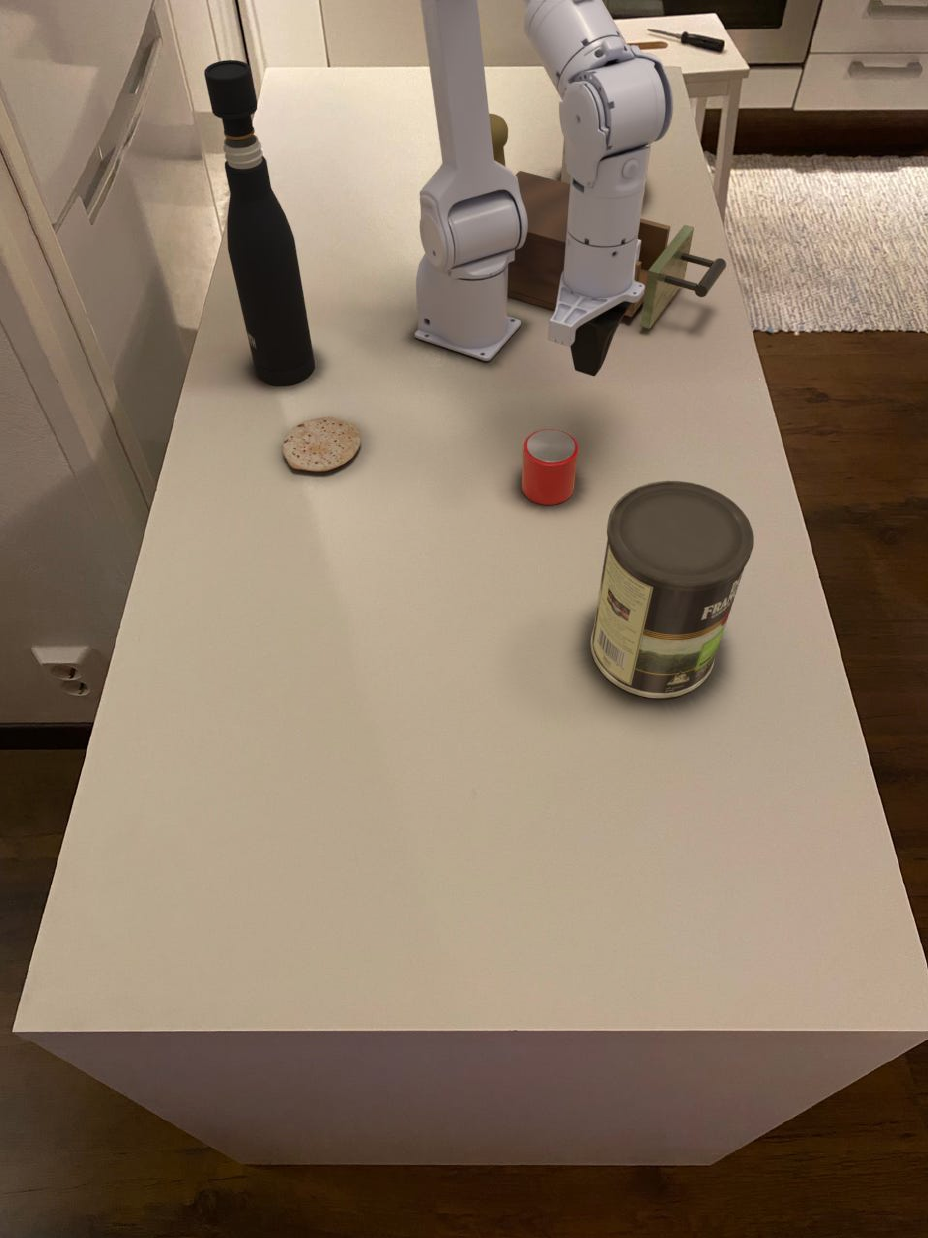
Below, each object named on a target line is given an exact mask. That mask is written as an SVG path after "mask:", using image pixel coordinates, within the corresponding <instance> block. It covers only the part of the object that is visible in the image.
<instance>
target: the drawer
mask: <svg viewBox="0 0 928 1238" xmlns="http://www.w3.org/2000/svg"><path fill="white" fill-rule="evenodd" d="M670 231H671V225H667V224H664V223H660V222H657V221H653V220H649V219H646V218H645V219H644V218H640V225H639V232H638V239H639V240H641V246H640V253H639V260H638V261H637V263H636V264H635V277H634V280H635V281H636V282H639V283H642V284H644V286H645V290H644V294H643V296H642V297H641V298H640V300H639V301H637V302H635V303H632V305H631V306H630V307H629V309H628V310H627V311H626V313H625V314H624V316H626V317H630V318H631V317H633V316H634V314H635V313H636V312H637V310H638V309H639V308H640V306H641V305H642V308H641V309H642V310H641V316H640V323H639V327H642V328H645V329H651V328H652V326H653V325H654V323H655V322H656V321H657V320H658V318H659V317H660V315H662V313H663V311H664V310H665V309H666V307H667V306H668V305H669V303H670V302H671V300H672V299H673V298H674V296H675V295H676V294H677V292H678V291H679V289H680V288H683V289H686V290H690V291H693V292H694V294H695V295H696V296H697V297H698V298H704V297H706V296H707V295H708V294H709V292H710V290H711V289H713V286H714V285H715V283H716V282H717V281H718V279H719V278H720V277H721V275H722V274H723V272H724V270H726V268H727V262H726V260H725V259H724V258H721V257H719V258H716V259H715V260H712V259H708V258H704V257H701V256H698V255H694V254H690V252H691V247H692V241H693V237H694V232H695V227H694V226H692V225H687V224H683V226H682V227H681V228H680V229H679V231H678V232H677V233H676V235H675V236H674V237H673V238H672V240H671V241H670V242H669V239H670V238H669V237H670V233H671V232H670ZM668 243H669V244H668ZM688 263H690V264H694V265H698V266H701V267H706V268H708V269H707V271H706V272H705V274H704V275H703V276H702V278H701V279H700V280H699V282H698V283H696V282H693V281H690V280H685V278H686V274H687V269H688Z"/></svg>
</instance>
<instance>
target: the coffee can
mask: <svg viewBox="0 0 928 1238" xmlns="http://www.w3.org/2000/svg"><path fill="white" fill-rule="evenodd" d="M606 536H607V539H606V546H605V552H604V559H603V565H602V570H601V571H602V572H601V576H600V577H601V578H600V583H599V590H598V597H597V603H596V610H595V618H594V622H593V623H594V624H593V629H592V632H591V637H590V651H591V655H592V657H593V661H594V663H595V664H596V666H597V668H598V670H600V672H601V674H603V676H605V677H606V679H607V680H609V682H611V683H612V684H613V685H615V686H617V687H618V688H620V689H622V690H624V691H626V692H627V693H630V694H634V695H637V696H639V697H645V698H649V699H671V698H677V697H681V696H683V695H685V694H688V693H690V692H692V691H694V690H695V689H697V688H698V687H700V686H701V685H702V684H703V683H704V682H705V681H706V679H708V677H709V676H710V675H711V672H712V671H713V668H714V665H715V660H716V655H717V653H718V650H719V646H720V643H721V640H722V637H723V634H724V631H725V628H726V625H727V622H728V619H729V617H730V616H729V615H730V613H731V610H732V607H733V604H734V601H735V598H736V595H737V592H738V590H739V587H740V582H741V580H742V577H743V574H744V570H745V568H746V566H747V564H748V562H749V560H750V558H751V556H752V552H753V549H754V546H755V545H754V543H755V537H754V536H755V535H754V531H753V528H752V525H751V522H750V520H749V518H748V517H747V515H746V513H744V511H743V510H742V509H741V508H740V507H739V505H737V504H736V502H734V501H733V500H731V499H730V498H729V497H728V496H727V495H725V494H723V493H721V492H719V491H717V490H715V489H712V488H711V487H708V486H705V485H701V484H698V483H694V482H689V481H682V480H681V481H680V480H662V481H654V482H650V483H649V482H648V483H646V484H642V485H640V486H637V487H635V488H633V489H631V490H630V491H627V493H624V495H623V496H621V497H620V498H619V499H618V500H617V501H616V502H615V504H614V505H613V507H612V508H611V510H610V512H609V515H608V519H607V525H606Z"/></svg>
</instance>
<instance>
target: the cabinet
mask: <svg viewBox="0 0 928 1238" xmlns="http://www.w3.org/2000/svg"><path fill="white" fill-rule="evenodd" d="M515 175H516V176H517V178H518V183H519V189H520V194H521V198H522V202H523V204H524V207H525V210H526V214H527V220H528V230H527V235H526V239H525V242H524V244H523V246H522V247H521V248H519V249H517V250H515V260H514V261H512V262H510V263H508V289H507V298H508V297H509V298H512V299H515V300H518V301H522V302H525V303H528V304H532V305H534V306H539V307H541V308H545V309H548V310H551V311H553V312H555V309H556V303H557V297H558V291H559V285H560V279H561V274H562V272H563V271H564V260H565V247H566V234H567V221H568V208H569V195H570V184H569V183H565V182H561V180H557V179H553V178H550V177H546V176H541V175H538V174H534V173H529V172H526V171H523V170H522V171H521V170H519V171H518V172H517V173H516V174H515Z"/></svg>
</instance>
